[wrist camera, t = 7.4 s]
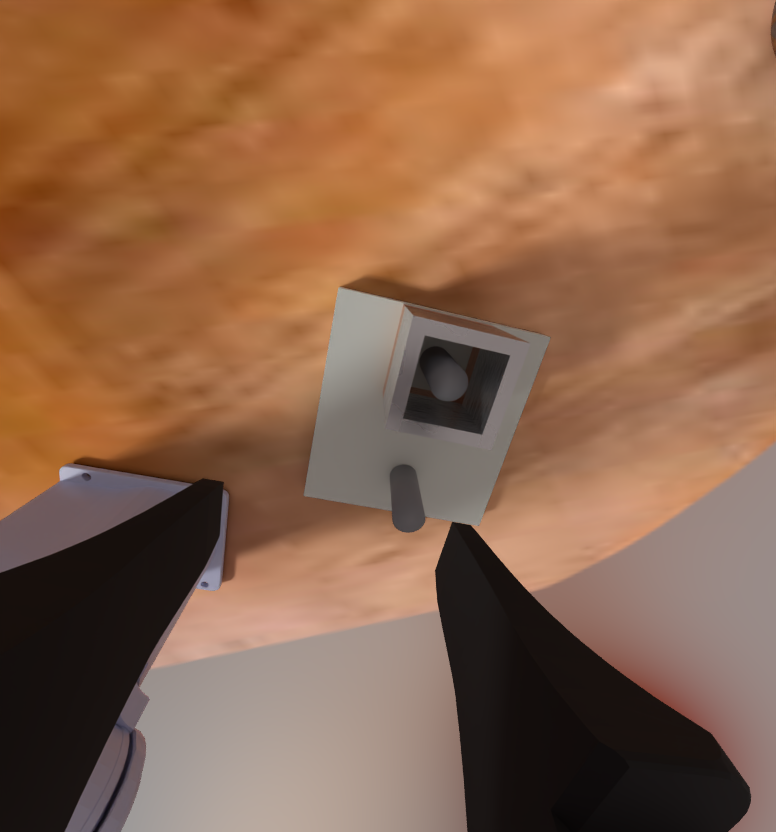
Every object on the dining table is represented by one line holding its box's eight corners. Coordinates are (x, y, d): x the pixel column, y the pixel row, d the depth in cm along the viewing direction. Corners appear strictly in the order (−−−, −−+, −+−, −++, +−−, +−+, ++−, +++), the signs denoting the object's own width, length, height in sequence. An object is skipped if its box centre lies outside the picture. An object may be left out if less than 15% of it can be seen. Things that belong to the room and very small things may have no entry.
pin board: (306, 486, 23) (288, 541, 18) (340, 286, 19) (328, 291, 14) (474, 515, 24) (498, 574, 19) (542, 334, 20) (594, 353, 15)
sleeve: (382, 391, 20) (384, 428, 15) (403, 304, 18) (413, 315, 13) (464, 409, 20) (491, 450, 15) (491, 325, 19) (530, 343, 14)
